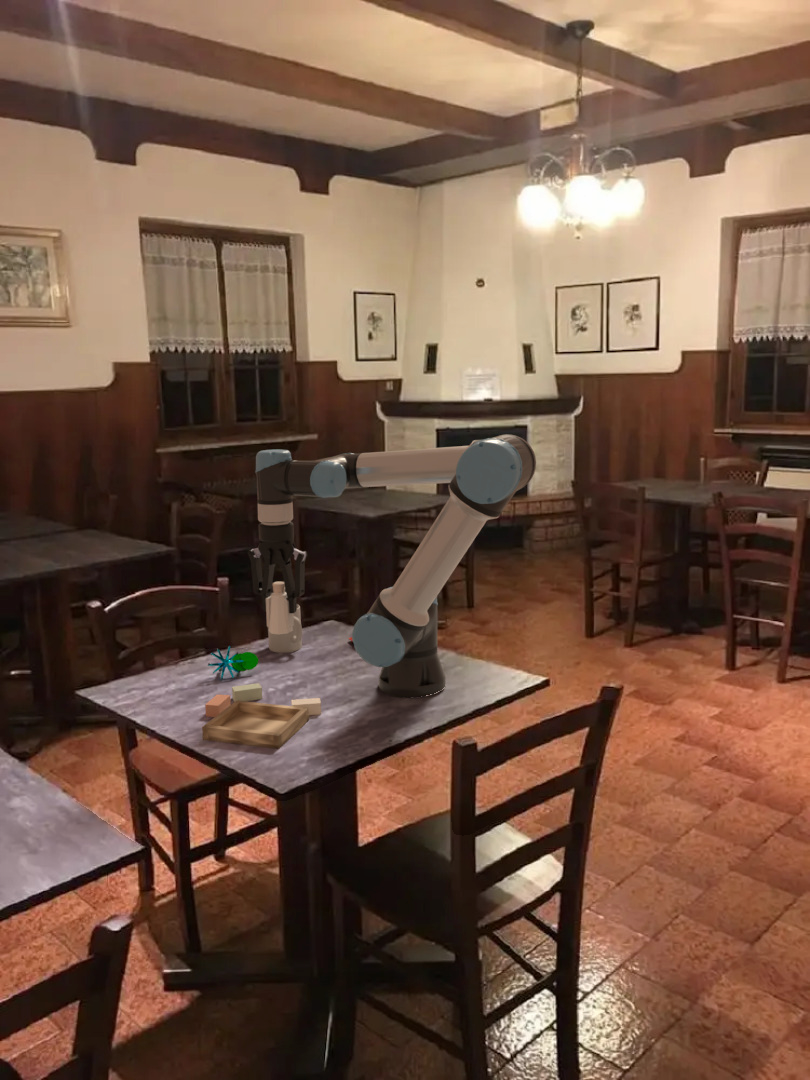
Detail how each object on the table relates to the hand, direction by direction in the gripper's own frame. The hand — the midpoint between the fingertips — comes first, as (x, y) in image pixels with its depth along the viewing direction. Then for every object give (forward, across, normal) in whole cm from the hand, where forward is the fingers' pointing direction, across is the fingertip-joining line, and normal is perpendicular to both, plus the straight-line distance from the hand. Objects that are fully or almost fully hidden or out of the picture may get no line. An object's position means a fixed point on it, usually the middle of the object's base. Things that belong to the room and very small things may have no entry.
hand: (280, 625), depth 200 cm
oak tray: (+16, -4, +21) cm, 26 cm away
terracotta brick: (+16, +8, +14) cm, 23 cm away
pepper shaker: (+1, 0, 0) cm, 1 cm away
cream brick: (+16, -10, +10) cm, 21 cm away
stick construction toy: (+17, +16, -6) cm, 24 cm away
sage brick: (+16, +6, +6) cm, 18 cm away
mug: (+16, +12, -29) cm, 35 cm away
